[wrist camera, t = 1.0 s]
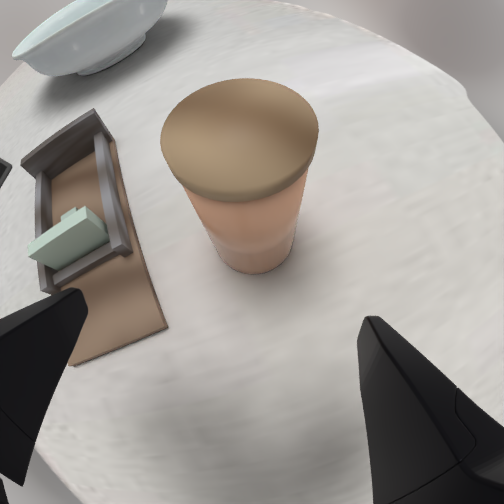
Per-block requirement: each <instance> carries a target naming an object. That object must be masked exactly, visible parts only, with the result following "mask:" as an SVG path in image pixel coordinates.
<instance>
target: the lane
mask: <svg viewBox="0 0 504 504" xmlns="http://www.w3.org/2000/svg"><path fill="white" fill-rule="evenodd" d="M21 166H22V167H23V168H24V169H25V170H26V171H27V172H28V173H29V174H30V175H32V176H33V177H34V178H35V179H36V187H35V239H37V238H38V237H39V236H41V235H42V234H43V233H45V232H46V231H48V230H49V229H51V228H52V227H53V226H55V225H56V224H58V223H59V222H61V216H62V215H64V214H65V213H67V212H68V211H70V210H71V209H73V208H74V207H76V208H78V209H81V208H82V207H84V206H86V207H87V208H88V209H89V210H91V211H92V212H93V213H94V214H95V215H96V216H98V217H99V218H100V219H101V220H102V221H104V222H105V223H106V224H107V229H108V234H109V238H110V242H108V243H106V244H105V245H103V246H101V247H99V248H97V249H96V250H94V251H92V252H90V253H89V254H87V255H85V256H84V257H82V258H80V259H78V260H77V261H75V262H73V263H72V264H70V265H68V266H67V267H65V268H63V269H62V270H60V271H57V270H55V269H53V268H51V267H49V266H46V265H44V264H42V263H40V262H38V261H37V266H38V275H39V283H40V290H41V291H42V292H45V293H48V294H51V296H52V295H54V294H56V293H58V292H61V291H63V290H65V289H67V288H70V287H74V288H79V289H81V290H82V292H83V295H84V298H85V300H86V303H87V306H88V316H87V318H86V320H85V323H84V325H83V327H82V330H81V332H80V335H79V337H78V340H77V343H76V345H75V348H74V350H73V352H72V354H71V356H70V358H69V361H68V366H75V365H78V364H81V363H83V362H86V361H88V360H91V359H93V358H96V357H98V356H101V355H103V354H106V353H108V352H111V351H113V350H116V349H118V348H120V347H123V346H125V345H128V344H130V343H133V342H135V341H137V340H140V339H142V338H144V337H147V336H149V335H152V334H154V333H156V332H159V331H161V330H163V329H165V328H168V326H167V323H166V321H165V318H164V315H163V313H162V310H161V307H160V305H159V302H158V299H157V296H156V294H155V291H154V288H153V285H152V282H151V279H150V276H149V273H148V270H147V267H146V264H145V261H144V258H143V254H142V251H141V248H140V244H139V241H138V238H137V234H136V231H135V227H134V223H133V220H132V216H131V212H130V208H129V204H128V200H127V196H126V192H125V188H124V183H123V179H122V174H121V170H120V165H119V160H118V155H117V150H116V144H115V140H114V138H113V137H112V135H111V134H110V132H109V131H108V129H107V128H106V126H105V124H104V123H103V121H102V120H101V118H100V117H99V115H98V114H97V112H96V111H95V109H94V108H93V109H92V110H90V111H88V112H87V113H85V114H83V115H82V116H80V117H79V118H77V119H76V120H74V121H72V122H71V123H69V124H68V125H66V126H65V127H63V128H62V129H61V130H59V131H58V132H56V133H55V134H54V135H52V136H51V137H49V138H48V139H47V140H45V141H44V142H43V143H41V144H40V145H39V146H38V147H36V148H35V149H34V150H32V151H31V152H30V153H29V154H28V155H26V156H25V157H24V158H23V159H22V160H21Z"/></svg>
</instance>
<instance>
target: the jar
mask: <svg viewBox="0 0 504 504" xmlns="http://www.w3.org/2000/svg"><path fill="white" fill-rule="evenodd" d="M318 132H319V129H318V121H317V117H316V115H315V113H314V110H313V109H312V107H311V106H310V104H309V103H308V102H307V101H306V100H305V99H304V98H303V97H302V96H300V95H299V94H298V93H296V92H295V91H293V90H292V89H290V88H288V87H286V86H284V85H281V84H278V83H275V82H271V81H267V80H261V79H249V78H245V79H232V80H226V81H221V82H217V83H214V84H211V85H208V86H206V87H203V88H201V89H199V90H197V91H195V92H194V93H192V94H190V95H189V96H187V97H186V98H185V99H183V100H182V101H181V102H180V103H179V104H178V105H177V106H176V107H175V108H174V109H173V110H172V111H171V113H170V114H169V116H168V117H167V119H166V121H165V123H164V125H163V128H162V132H161V139H160V144H161V150H162V153H163V156H164V158H165V160H166V162H167V164H168V166H169V168H170V170H171V171H172V173H173V175H174V176H175V178H176V179H177V180H178V181H179V182H180V183H181V184H182V185H183V187H184V189H185V191H186V193H187V195H188V197H189V199H190V201H191V203H192V205H193V207H194V209H195V210H196V212H197V214H198V216H199V218H200V220H201V222H202V224H203V226H204V227H205V229H206V231H207V233H208V235H209V237H210V239H211V241H212V242H213V244H214V246H215V248H216V250H217V252H218V253H219V255H220V257H221V258H222V260H223V261H224V262H225V263H226V264H227V265H228V266H230V267H231V268H232V269H234V270H236V271H239V272H242V273H246V274H261V273H265V272H268V271H270V270H273V269H274V268H276V267H277V266H279V265H280V264H281V263H282V262H283V261H284V260H285V259H286V257H287V256H288V254H289V252H290V250H291V247H292V243H293V239H294V234H295V230H296V225H297V220H298V216H299V211H300V206H301V202H302V197H303V192H304V187H305V182H306V177H307V172H308V167H309V165H310V164H311V162H312V160H313V156H314V153H315V149H316V144H317V139H318Z"/></svg>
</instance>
